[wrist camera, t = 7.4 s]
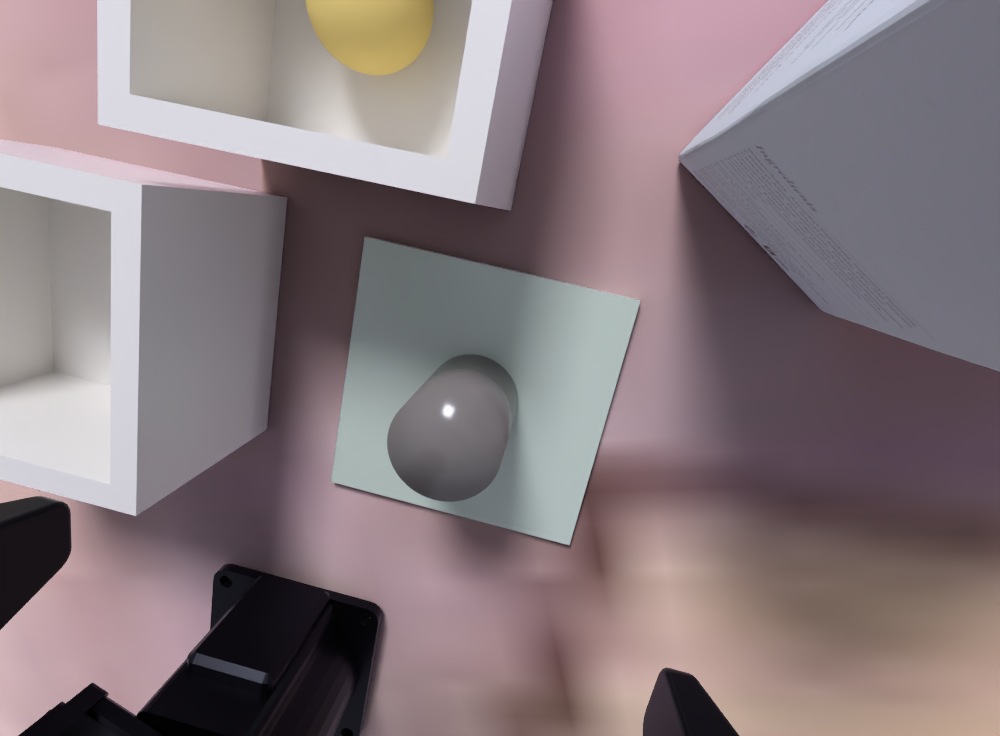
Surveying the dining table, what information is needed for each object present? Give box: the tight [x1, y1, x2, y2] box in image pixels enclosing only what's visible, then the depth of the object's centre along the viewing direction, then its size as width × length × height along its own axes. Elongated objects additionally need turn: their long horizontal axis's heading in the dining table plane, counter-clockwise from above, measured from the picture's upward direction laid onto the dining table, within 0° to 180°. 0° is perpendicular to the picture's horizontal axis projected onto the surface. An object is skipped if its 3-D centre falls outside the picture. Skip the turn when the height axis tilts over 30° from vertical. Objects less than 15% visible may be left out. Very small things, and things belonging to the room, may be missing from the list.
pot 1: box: [0, 139, 287, 516], centre depth 16 cm, size 8×8×6 cm
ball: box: [306, 0, 434, 75], centre depth 13 cm, size 3×3×3 cm
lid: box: [331, 237, 640, 545], centre depth 16 cm, size 9×9×5 cm
